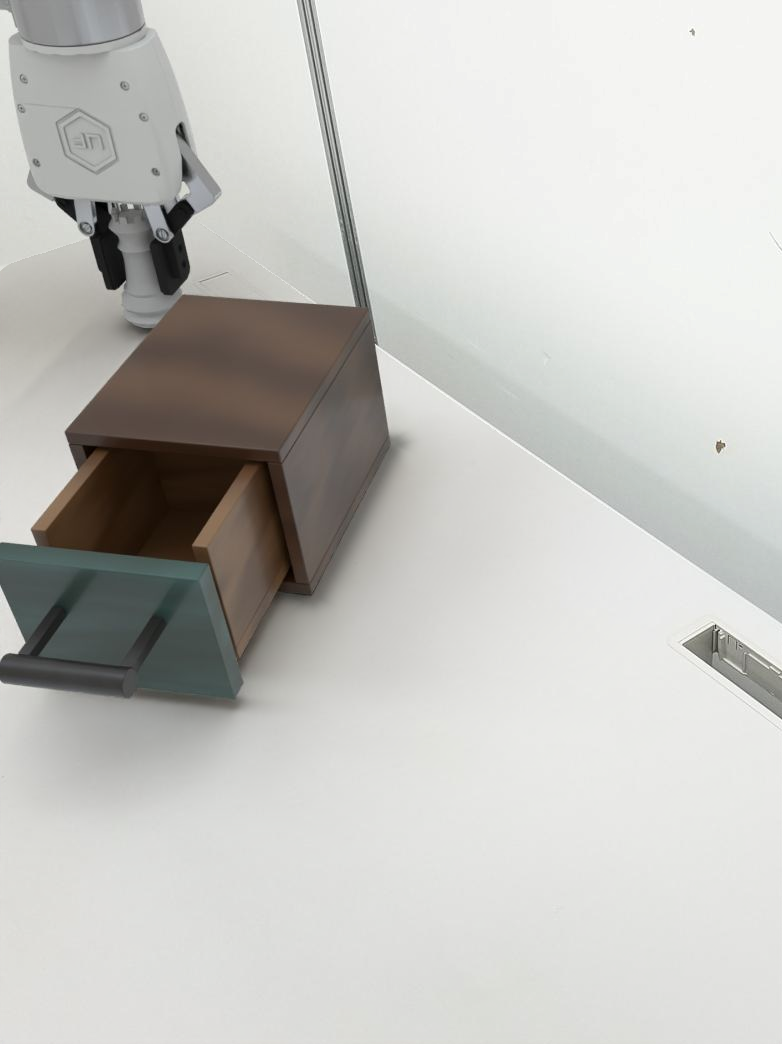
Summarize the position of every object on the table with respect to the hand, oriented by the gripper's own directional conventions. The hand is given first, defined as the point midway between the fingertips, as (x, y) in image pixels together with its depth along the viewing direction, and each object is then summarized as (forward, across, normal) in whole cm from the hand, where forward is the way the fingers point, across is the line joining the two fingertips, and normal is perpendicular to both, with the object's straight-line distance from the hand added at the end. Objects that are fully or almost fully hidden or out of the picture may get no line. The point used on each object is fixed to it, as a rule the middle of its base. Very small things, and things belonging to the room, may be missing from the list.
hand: (147, 281), depth 90 cm
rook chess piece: (+3, 0, 0) cm, 3 cm away
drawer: (+2, +16, -32) cm, 35 cm away
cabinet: (+3, +16, -20) cm, 25 cm away
